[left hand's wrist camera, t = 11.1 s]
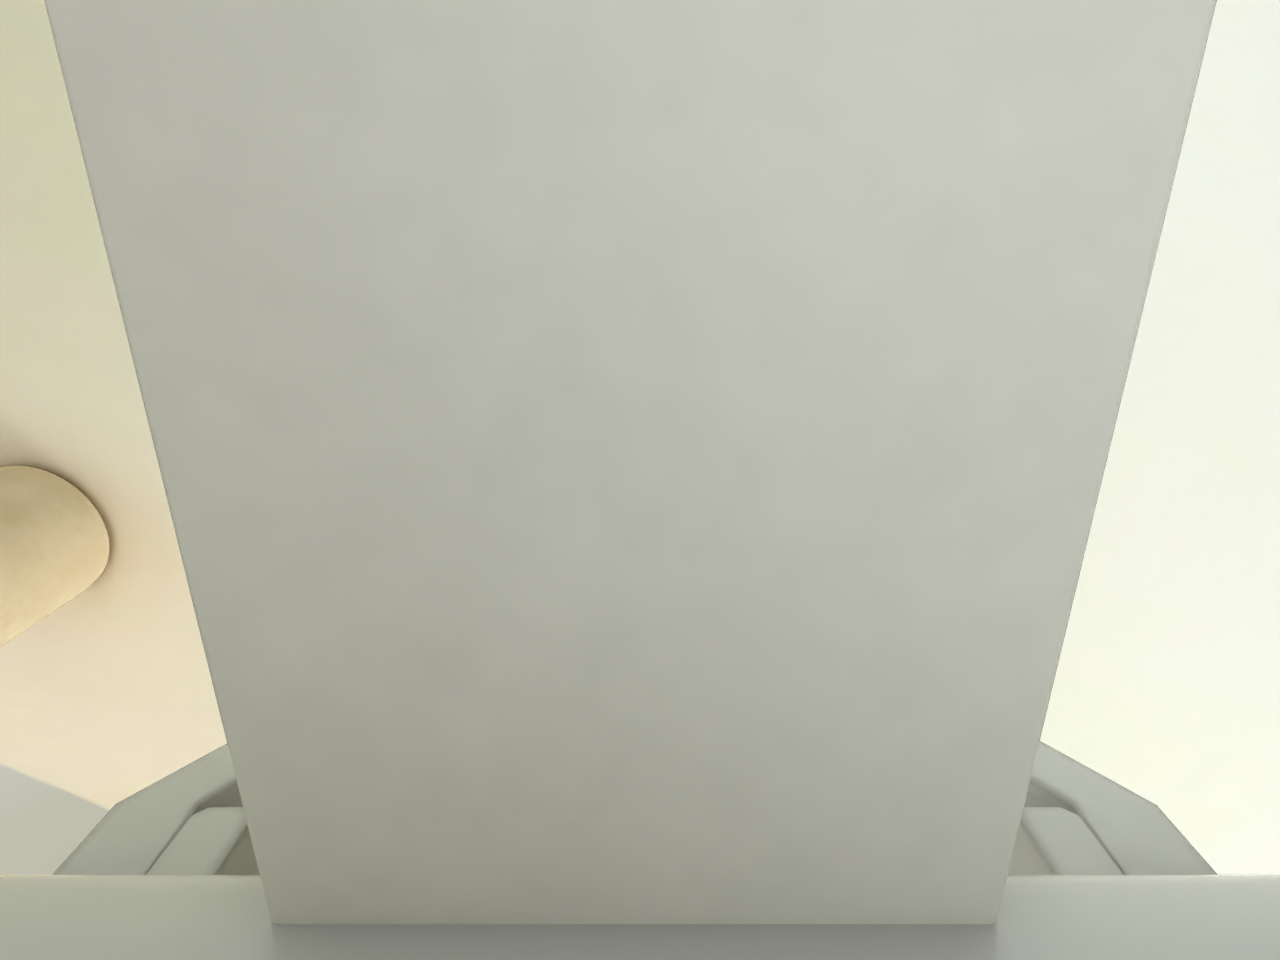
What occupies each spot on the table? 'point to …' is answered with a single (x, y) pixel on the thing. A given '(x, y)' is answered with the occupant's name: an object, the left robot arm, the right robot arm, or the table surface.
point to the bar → (632, 425)
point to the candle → (44, 546)
